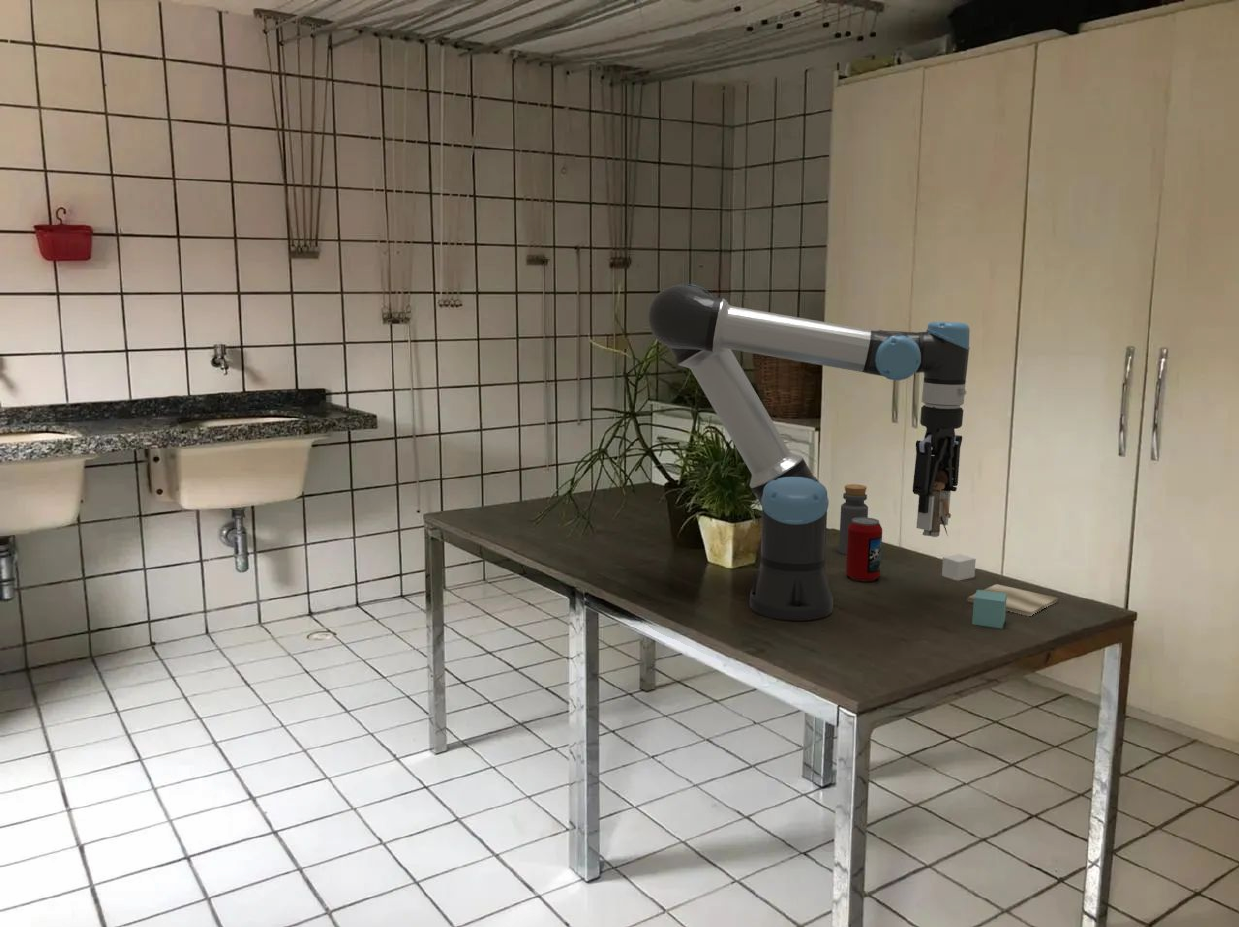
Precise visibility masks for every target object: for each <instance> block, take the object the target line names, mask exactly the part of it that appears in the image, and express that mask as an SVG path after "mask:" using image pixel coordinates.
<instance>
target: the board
mask: <svg viewBox="0 0 1239 927" xmlns="http://www.w3.org/2000/svg"><path fill="white" fill-rule="evenodd" d="M982 590H983V591H991V592H999V593H1007V599H1006V612H1008V611H1010V613H1012V612H1014V613H1013V614H1017V613H1018V614H1017V615H1021V614H1022V615H1021V616H1025V615H1026V616H1025V617H1029V616H1031V617H1032V615H1033V614H1034V615H1036V614H1038V613H1040V612H1041V610H1042V609H1044V608H1046V607H1047V608H1049V607H1051V606H1053V605H1054V604H1056V603H1058V601H1059V600H1058V599H1059V598H1058V597H1054V596H1050V595H1046V594H1042V593H1037V592H1034V591H1028V590H1024V589H1019V588H1017V587H1011V586H1007V585H1002V584H998V583H996V584H995V583H994V585H993V584H992V586H988V587H987V588H985V589H982ZM975 594H976V593H974V594H972V595H970V596H968V597H967V598H966V599H967V602H969V603H973V604H974V596H975ZM1050 605H1051V606H1050ZM1048 606H1049V607H1048ZM1047 608H1046V609H1047ZM1044 610H1045V609H1044ZM1039 611H1040V612H1039ZM1042 611H1043V610H1042ZM1037 612H1038V613H1037ZM1035 613H1036V614H1035ZM1034 615H1033V616H1034Z"/></svg>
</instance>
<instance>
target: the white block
mask: <svg viewBox="0 0 1239 927" xmlns="http://www.w3.org/2000/svg"><path fill="white" fill-rule="evenodd" d="M976 560H977V559H976V558H975V557H970V556H968V555H966V554H965V555H964V554H962V553H959V554H955V555H948V556H944V557H942V567H941V571H942V572H941V576H942V577H944V578H948V579H951V580H954V581H963V580H968V579H972V578H975V573H976Z"/></svg>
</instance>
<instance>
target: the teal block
mask: <svg viewBox="0 0 1239 927" xmlns="http://www.w3.org/2000/svg"><path fill="white" fill-rule="evenodd" d="M983 590H984V589H976V592H975V593H974V594H975V596H974V603H973V604H972V606H973V607H972V619H971V620H972V622H971V625H975V626H981V627H988V628H995V629H1001V630H1002V629H1003V627H1004V624H1005V620H1006V612H1007V611H1006V599H1007V593H999V592H991V591H983Z"/></svg>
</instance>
